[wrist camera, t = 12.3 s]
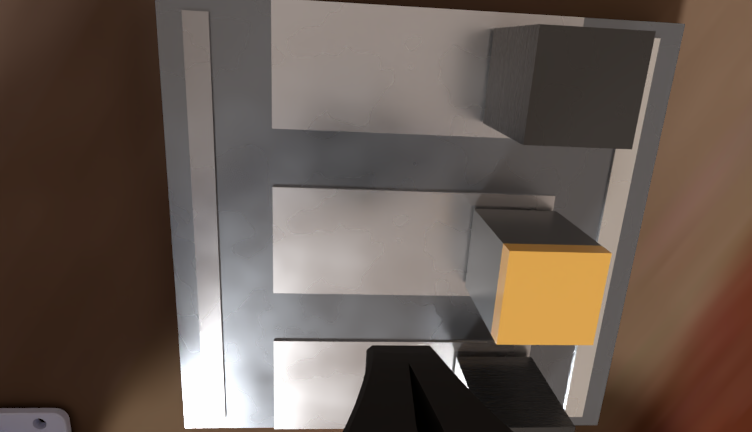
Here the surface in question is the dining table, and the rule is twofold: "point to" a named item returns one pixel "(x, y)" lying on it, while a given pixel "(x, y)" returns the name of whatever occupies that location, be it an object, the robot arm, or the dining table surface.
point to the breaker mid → (535, 277)
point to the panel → (390, 193)
